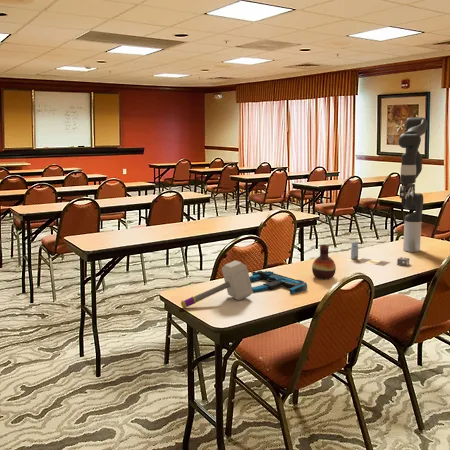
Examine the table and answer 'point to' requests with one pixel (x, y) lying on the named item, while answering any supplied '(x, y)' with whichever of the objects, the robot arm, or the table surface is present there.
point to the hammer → (228, 284)
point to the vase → (323, 265)
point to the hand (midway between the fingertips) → (406, 205)
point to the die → (403, 261)
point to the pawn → (354, 251)
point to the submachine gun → (277, 282)
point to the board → (375, 262)
